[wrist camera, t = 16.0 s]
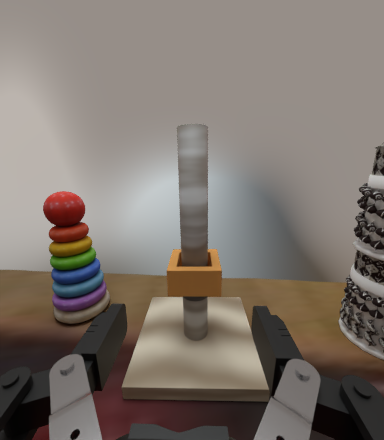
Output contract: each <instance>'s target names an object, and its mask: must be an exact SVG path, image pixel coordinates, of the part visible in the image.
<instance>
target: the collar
mask: <svg viewBox="0 0 384 440" xmlns="http://www.w3.org/2000/svg"><path fill="white" fill-rule="evenodd" d="M221 276H222V270H221V265H220V261H219V257H218V252H217V249H208V267H182V258H181V249H179V250H177V249H175V250H173V252H172V255H171V258H170V262H169V265H168V269H167V284H168V296H194V297H221V280H222V277H221Z"/></svg>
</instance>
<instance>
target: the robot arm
mask: <svg viewBox="0 0 384 440" xmlns="http://www.w3.org/2000/svg"><path fill="white" fill-rule="evenodd" d="M126 332H127V317H126V307H125V304H111V306H110V307H109V309H108V310H107V312H102V313H101V314H100V315H98V316H97V317H96V318H95V319H94V320H93V322H92V323H91V325H90V327H89V328H88V329H87V331H86V333H85V334H84V335H83V337H82V338H81V340H80V341H79V343H78V344H77V346H76V347H75V349H74V350H73V352H72V353H71V355H68V356H66V357H64V358H62V359H60V360H59V361H58V362H57V363H56V364H55V365H54V366H53V367H52V369H49V370H46V371H42V372H38V373H35V374H31V371H30V369H29V368H27V367H18V368H15V369H12V370H10V371H8V372H7V373H5V374H4V375H2V376H1V377H0V440H32V438H33V436H34V434H35V433H36V431H37V429H38V428H39V427H42V426H45V425H48V424H49V435H50V440H102V437H101V433H100V428H99V424H98V419H97V415H96V411H95V406H94V402H93V398H92V395H93V392H94V391H102V390H103V387H104V385H105V383H106V380H107V378H108V376H109V373H110V371H111V369H112V366H113V364H114V361H115V359H116V357H117V354H118V352H119V350H120V347H121V345H122V343H123V340H124V338H125V335H126ZM252 336H253V340H254V343H255V346H256V350H257V353H258V356H259V359H260V362H261V366H262V369H263V372H264V375H265V378H266V381H267V385H268V388H269V391H270V394H271V396H272V397H271V398H270V401H269V403H268V405H267V408H266V410H265V413H264V415H263V418H262V420H261V423H260V425H259V428H258V430H257V433H256V436H255V438H254V440H309V437H310V432H311V429H312V430H314V431H317V432H319V433H322V434H324V435H327V436H329V437H332V438H334V439H335V440H384V398H383V397H382V395H381V394H380V393H379V391H378V390H377V389H376V388H375V387H374V386H373V385H372V384H370V383H369V382H367V381H366V380H364V379H362V378H360V377H357V376H354V375H347V376H344V377H343V378H342V381H341V382H340V381H337V380H333V379H330V378H327V377H324V376H322V375H320V374H318V372H317V371H316V369H315V368H314V367H313V366H312V365H310V364H309V363H307V362H306V361H304V359H303V357H302V355H301V353H300V352H299V350H298V348H297V346H296V344H295V342H294V341H293V339H292V337H291V335H290V333H289V331H288V330H287V328H286V326H285V324H284V322H283V321H282V320H281V319H280V318H279V317H278V316H277V315H271V314H270V312H269V310H268V308H267V306H254V307H253V315H252ZM273 396H274V397H273ZM116 440H235V439H234V438H231V437H229V436H228V428H227V427H226V426H201V427H198V428H195V429H191V430H188V431H185V432H181V433H177V432H174V431H171V430H169V429H166V428H163V427H161V426H158V425H156V424H132V425H131V429H130V433H129V434H126V435H124V436H122V437H120V438H118V439H116Z"/></svg>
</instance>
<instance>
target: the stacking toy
mask: <svg viewBox="0 0 384 440" xmlns="http://www.w3.org/2000/svg"><path fill="white" fill-rule="evenodd" d="M43 211H44V214H45V216H46V218H47V219H48V220H49V221H50V222H51V223H52V224H54V225H56V226H54V227H52V228H51V229H50V231H49V237H50V238H51V239H52V240H53V242H52V243H51V244H50V246H49V251H50V253H51V254H52V255H53V256H52V257H51V259H50V263H51V265H52V267H53V268H54V269H53V270H52V274H51V275H52V278H53V280H54V282H53V286H52V288H53V291H54V295H53V299H52V301H53V305H54V306H55V307H54V316H55V318H56V319H57V320H58V321H60V322H63V323H69V324H73V323H80V322H84V321H87V320H89V319H91V318H93V317H95V316H97V315H98V314H100V313H101V312H102V311H103V310H104V309H105V308H106V307H107V305H108V303H109V300H110V295H109V292H108V291H107V290H106V283H105V282H104V281H103V278H104V275H103V272H102V271H101V270H100V262H99V260H98V259H97V258H95V257H96V252H95V250H94V249H93V248H92V247H91V245H92V240H91V238H90V237H88V236H86V235H87V234H88V230H89V228H88V226H87V225H86V224H85V223H82V222H80V221H81V219H82V218H83V216H84V214H85V205H84V203H83V201H82V199H81V198H80V197H79V196H77V195H76V194H73V193H71V192H64V191H63V192H57V193H54V194H52V195H50V196H49V197H48V198H47V199H46V201H45V203H44V206H43Z"/></svg>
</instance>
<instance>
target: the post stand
mask: <svg viewBox="0 0 384 440" xmlns="http://www.w3.org/2000/svg"><path fill="white" fill-rule="evenodd" d="M177 138H178V139H177V140H178V169H179V198H180V229H181V258H182V267H208V127H207V126H206V125H201V124H187V125H181V126H178V127H177ZM122 393H123V399H153V400H209V401H264V402H269V394H270V391H269V388H268V385H267V381H266V378H265V375H264V372H263V369H262V366H261V362H260V359H259V356H258V353H257V350H256V346H255V343H254V340H253V336H252V332H251V329H250V326H249V323H248V320H247V317H246V314H245V310H244V307H243V304H242V301H241V298H240V297H194V296H183V297H153V298H152V301H151V304H150V307H149V310H148V313H147V315H146V318H145V321H144V324H143V327H142V330H141V333H140V336H139V339H138V341H137V344H136V347H135V350H134V353H133V356H132V359H131V362H130V365H129V367H128V370H127V373H126V376H125V379H124V382H123V385H122Z"/></svg>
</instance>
